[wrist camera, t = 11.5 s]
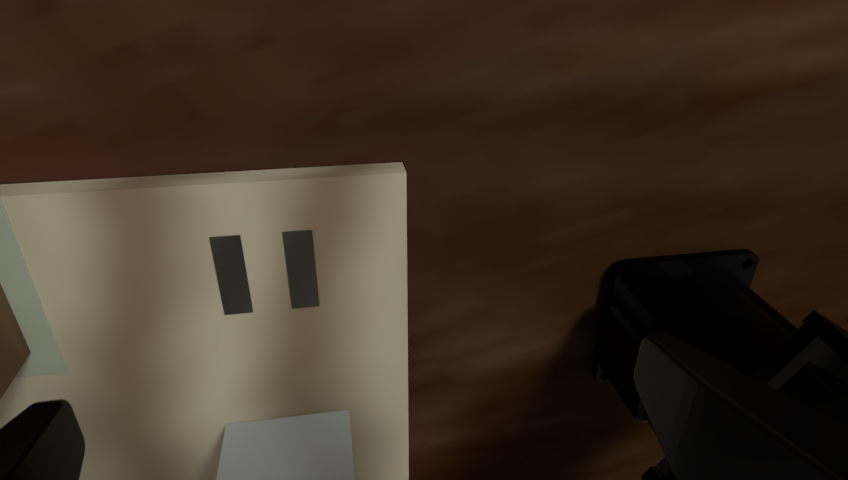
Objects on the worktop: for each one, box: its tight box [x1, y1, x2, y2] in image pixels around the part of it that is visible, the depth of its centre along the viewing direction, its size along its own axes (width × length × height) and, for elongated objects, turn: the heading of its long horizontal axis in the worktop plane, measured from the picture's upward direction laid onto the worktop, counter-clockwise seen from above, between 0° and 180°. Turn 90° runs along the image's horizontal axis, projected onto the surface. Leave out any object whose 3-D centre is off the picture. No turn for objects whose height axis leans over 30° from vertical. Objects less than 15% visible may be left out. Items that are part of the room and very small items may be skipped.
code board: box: [0, 162, 409, 480], centre depth 22 cm, size 20×16×1 cm
